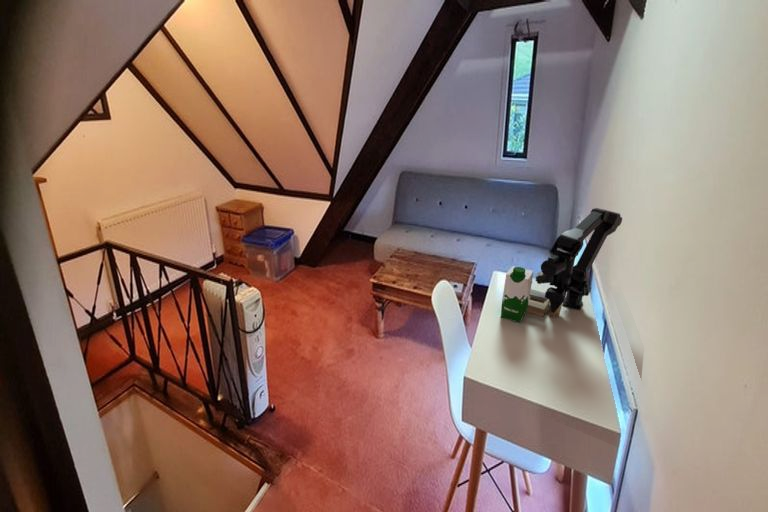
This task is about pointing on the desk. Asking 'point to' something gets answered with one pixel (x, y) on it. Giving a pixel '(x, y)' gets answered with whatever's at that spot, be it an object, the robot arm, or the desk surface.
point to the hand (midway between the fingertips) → (555, 306)
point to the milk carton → (516, 293)
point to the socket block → (537, 303)
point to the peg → (556, 313)
